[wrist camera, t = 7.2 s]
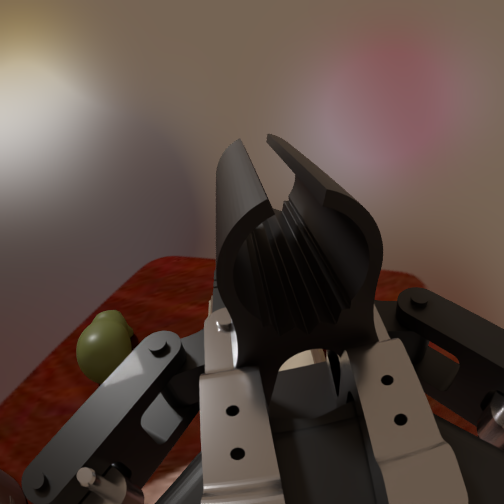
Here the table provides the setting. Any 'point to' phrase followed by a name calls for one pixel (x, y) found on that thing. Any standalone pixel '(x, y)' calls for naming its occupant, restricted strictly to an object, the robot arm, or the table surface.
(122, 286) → the table surface
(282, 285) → the phone stand
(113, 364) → the pear
